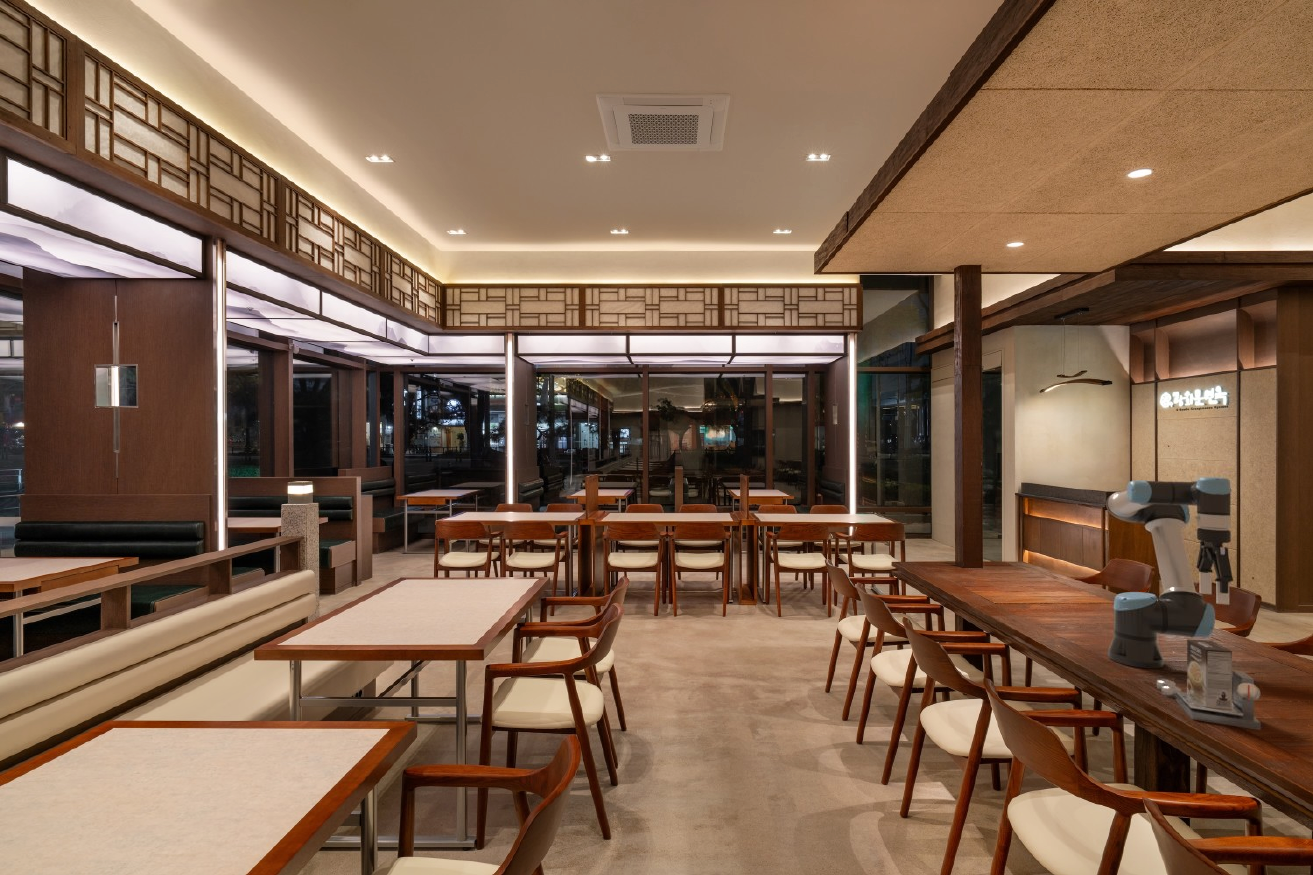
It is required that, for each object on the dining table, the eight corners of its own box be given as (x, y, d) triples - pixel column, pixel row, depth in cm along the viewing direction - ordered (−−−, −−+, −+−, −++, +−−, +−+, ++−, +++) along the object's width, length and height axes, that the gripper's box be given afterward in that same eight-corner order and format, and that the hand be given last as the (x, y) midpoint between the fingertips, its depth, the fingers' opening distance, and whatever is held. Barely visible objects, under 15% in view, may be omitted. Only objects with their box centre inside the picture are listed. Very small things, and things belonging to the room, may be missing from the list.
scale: (1175, 699, 179) (1175, 659, 179) (1243, 710, 172) (1243, 667, 172) (1192, 719, 166) (1192, 675, 166) (1266, 731, 159) (1266, 685, 159)
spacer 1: (1154, 685, 190) (1154, 677, 190) (1172, 688, 188) (1172, 680, 188) (1159, 690, 186) (1159, 682, 186) (1177, 693, 184) (1177, 685, 184)
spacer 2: (1159, 691, 185) (1159, 683, 185) (1178, 694, 183) (1178, 685, 183) (1164, 696, 181) (1164, 688, 181) (1183, 699, 179) (1183, 691, 179)
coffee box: (1185, 694, 175) (1185, 638, 175) (1211, 696, 173) (1211, 640, 174) (1206, 707, 166) (1205, 648, 166) (1234, 710, 164) (1233, 650, 165)
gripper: (1183, 522, 196) (1183, 588, 196) (1213, 532, 174) (1213, 606, 174) (1213, 524, 193) (1214, 591, 193) (1247, 534, 171) (1248, 610, 171)
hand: (1213, 598), depth 183 cm, fingers open, 13 cm apart
